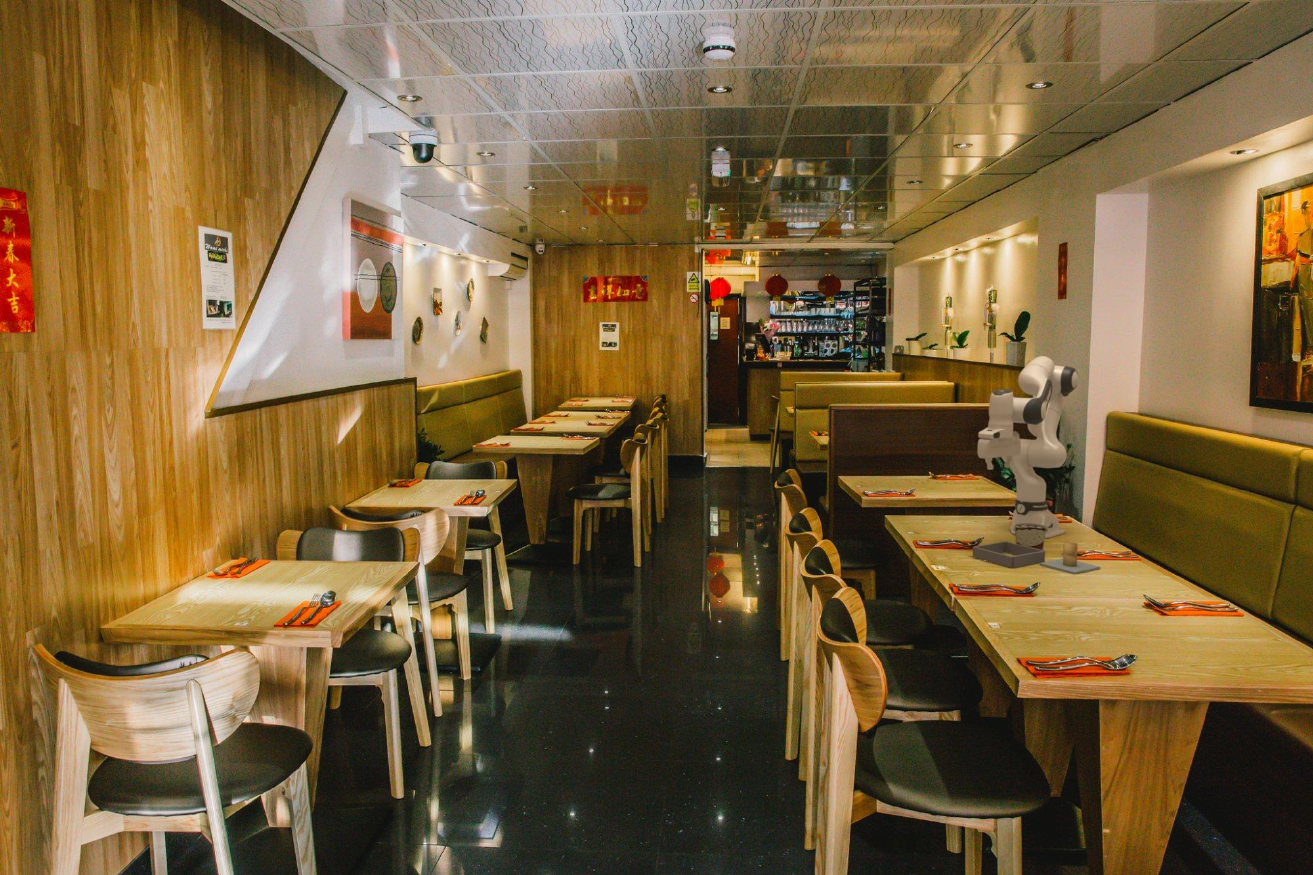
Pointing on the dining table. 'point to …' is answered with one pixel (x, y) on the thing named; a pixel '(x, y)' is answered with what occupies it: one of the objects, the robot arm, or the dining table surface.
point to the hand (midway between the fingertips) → (998, 468)
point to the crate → (1023, 553)
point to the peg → (1070, 553)
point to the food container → (1030, 535)
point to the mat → (1077, 569)
